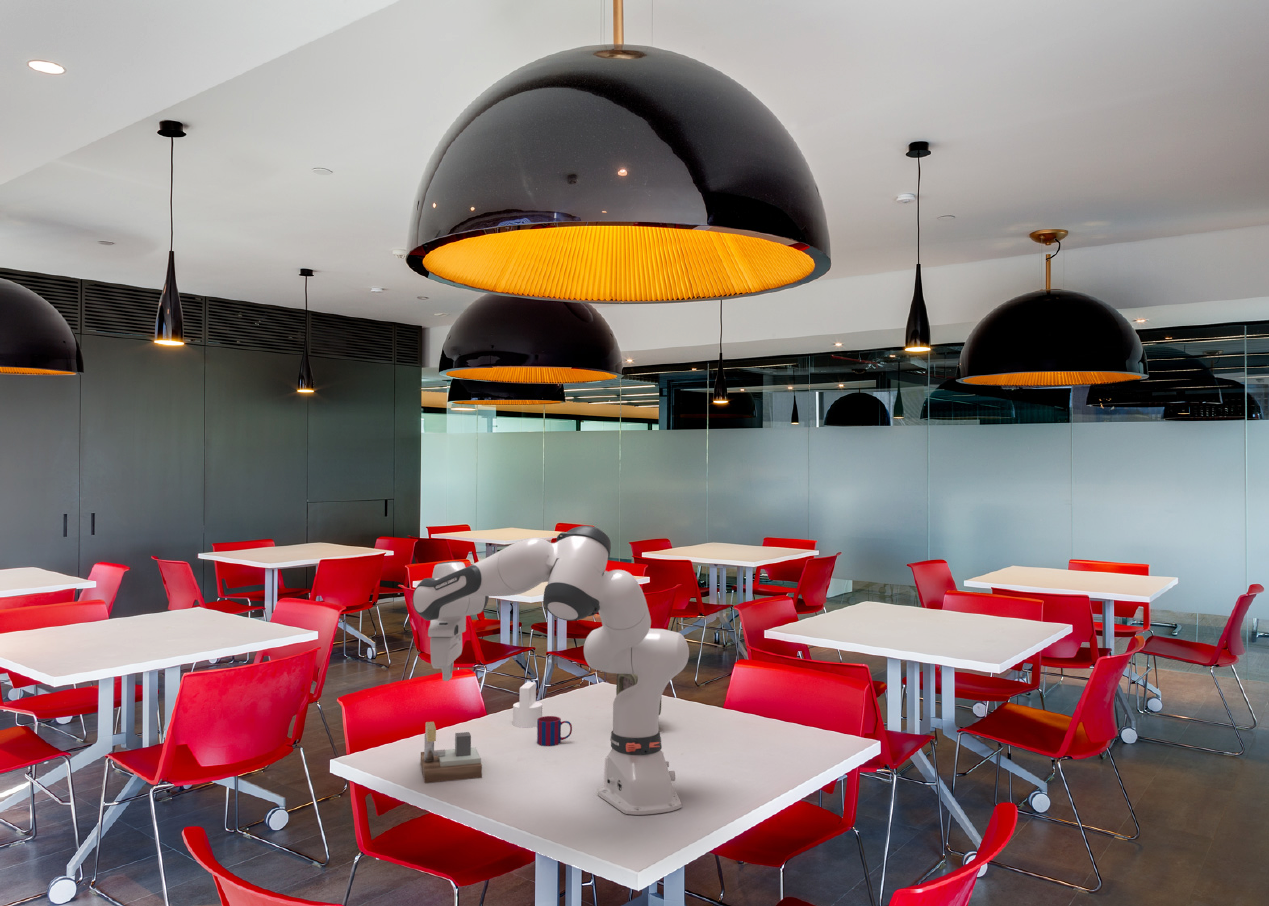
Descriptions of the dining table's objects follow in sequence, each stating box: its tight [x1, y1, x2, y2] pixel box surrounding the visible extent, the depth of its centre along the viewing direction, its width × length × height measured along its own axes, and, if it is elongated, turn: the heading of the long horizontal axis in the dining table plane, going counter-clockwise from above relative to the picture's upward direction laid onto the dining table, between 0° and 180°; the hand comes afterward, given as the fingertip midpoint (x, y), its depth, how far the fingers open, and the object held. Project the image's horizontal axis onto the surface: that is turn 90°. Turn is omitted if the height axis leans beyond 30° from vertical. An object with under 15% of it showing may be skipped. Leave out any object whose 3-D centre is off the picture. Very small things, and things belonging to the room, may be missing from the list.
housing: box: [420, 751, 483, 784], centre depth 219 cm, size 16×14×3 cm
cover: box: [438, 731, 482, 767], centre depth 219 cm, size 10×10×6 cm
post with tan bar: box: [423, 721, 446, 762], centre depth 215 cm, size 8×5×10 cm, turn 18°
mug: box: [536, 715, 573, 747], centre depth 244 cm, size 7×10×7 cm
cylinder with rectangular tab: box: [512, 681, 543, 729], centre depth 265 cm, size 9×9×12 cm
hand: (447, 679), depth 215 cm, fingers closed
